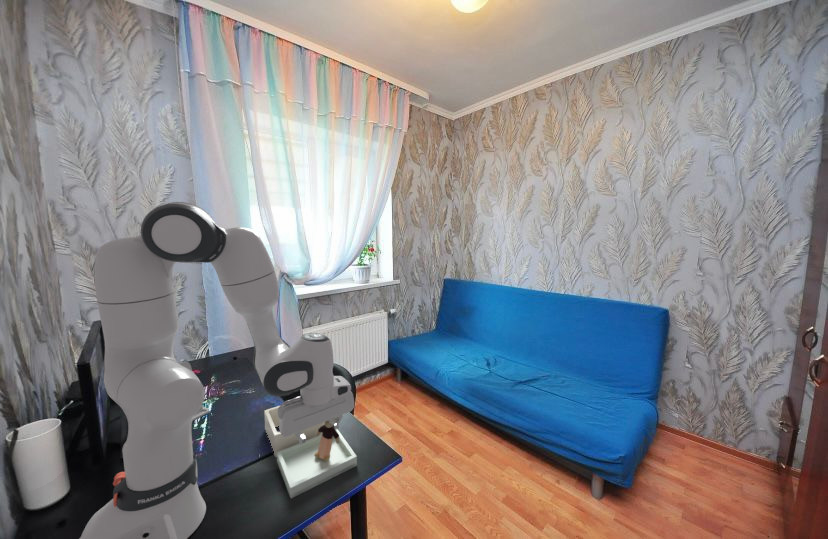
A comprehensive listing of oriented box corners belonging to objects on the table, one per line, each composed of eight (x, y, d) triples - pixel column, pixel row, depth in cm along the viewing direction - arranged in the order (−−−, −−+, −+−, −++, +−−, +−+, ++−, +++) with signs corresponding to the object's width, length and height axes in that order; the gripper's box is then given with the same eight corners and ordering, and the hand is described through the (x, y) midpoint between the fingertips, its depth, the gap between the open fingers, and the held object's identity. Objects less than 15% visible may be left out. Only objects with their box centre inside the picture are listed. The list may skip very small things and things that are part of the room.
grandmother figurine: (308, 457, 84) (315, 415, 83) (314, 449, 88) (321, 408, 87) (334, 465, 83) (341, 422, 83) (339, 456, 87) (346, 414, 86)
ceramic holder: (275, 457, 86) (274, 435, 85) (265, 430, 97) (264, 410, 96) (328, 435, 96) (328, 415, 95) (313, 412, 107) (313, 394, 106)
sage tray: (290, 498, 74) (290, 488, 73) (276, 461, 85) (276, 452, 84) (356, 465, 85) (356, 456, 84) (337, 436, 96) (337, 428, 95)
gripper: (280, 410, 73) (283, 459, 75) (356, 384, 85) (356, 427, 88) (274, 398, 78) (277, 444, 80) (346, 374, 90) (347, 415, 93)
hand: (319, 435), depth 84 cm, fingers open, 8 cm apart
